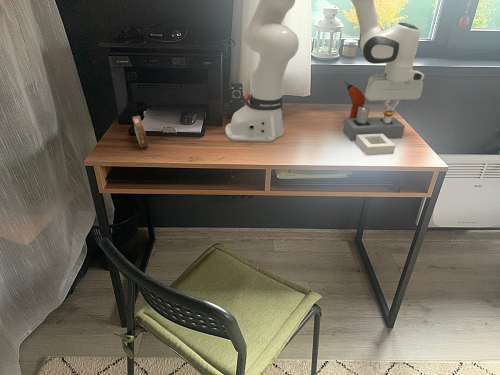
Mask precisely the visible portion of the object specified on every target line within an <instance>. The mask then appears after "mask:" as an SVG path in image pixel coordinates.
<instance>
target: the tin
mask: <svg viewBox="0 0 500 375" xmlns="http://www.w3.org/2000/svg"><path fill="white" fill-rule="evenodd" d="M131 120H132V122H133V126H134V132H135V133H134V134H135V135H136V136H135V137H136V140H137V142H138V144H139V147H140V148H145V147H149V144H148V138H147V135H146V134H147V133H146V130H145V126H144V124H143V122H142V119H141V116H140V115H136V116H132V117H131Z"/></svg>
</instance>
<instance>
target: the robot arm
mask: <svg viewBox="0 0 500 375" xmlns="http://www.w3.org/2000/svg"><path fill="white" fill-rule="evenodd" d="M350 1H351V3H352V5H353V7H354V9H355V13H356V17H357V22H358V26H359V39H358V48H359V50H360V52H361V54H362V56H363V58H364V60H366V61H367V62H368V63H371V64H373V65H375V64H385V63H386V64H385V69H384V73H373V74H372V75H370V76H369V77H368V80H367V86H366V89H365V93H364V97H365V99H366V100H368V101H373V102H374V101H383V103H384V110H385V111H395V108H396V107H397V106H398V104H400V100H401V101H403V100H404V101H405V100H406V101H407V100H418V99H419V98H421V96H422V92H423V87H424V82H423V80H424V79H425V73H422V72H421V71H420V70H417V69H415V68H413V67H414V58H415V56H416V54H417V51H418V48H419V47H418V46H419V41H420V30H419V28H418V27H416V25H413V24H412V23H407V22H397V23H396V24H394V26H392V27H390V28H387V29H385V30H384V29H383V28H382V27H381V25H380V23H379V20H378V16H377V11H376V7H375V0H350ZM295 3H296V0H259V1H258V4H257V6H256V8H255V11H254V13H253V15H252V17H251V19H250V20H249V21H248V22H247V23H246V25H245V26H244V28H243V33H242V34H243V35H242V36H243V40H244V42H245V44H246V45H247V46H248V47H249V48H250V50H252V51H254V52H256V53H258V54H259V62H258V64H257V67H256V69H255V70H254V71H253V73H252V76H251V77H252V78H251V79H252V80H251V85H252V86H251V94H248V93H247V92H246V93H244V94H243V98H244V100H245V102H246V103H245V105H244V106H242V107H241V108H239V109H238V110H236V111H235V112H234V113H233V115H232V117H231V121H230V123H228V124H226V126H225V130H224V133H225V135H226V137H227V138H228V139H229V140H232V141H239V142H240V141H241V142H244V141H245V142H266V143H267V142H269V143H271V142H274V141H275V140H276V139H277V138H280V137H282V136H283V135H284V134H285V129H284V125H283V108H284V95H283V92H284V91H283V89H284V88H283V87H284V77H285V73H286V70H287V67H288V64H289V62H290V61H291V60H292V59H293V58H294V57H295V56H296V54H297V52H298V51H299V45H300V42H299V37H298V35H297V34H296V33H295V31H293V30H292V29H291V28H289V26H287V25H284V24H282V23H283V21H284V19H285V18H286V15H287V13H288V12H289V11H290V10H291V9H292V8H293V7H294V6H295ZM391 101H392V104H389V103H390V102H391Z"/></svg>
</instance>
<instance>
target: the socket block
mask: <svg viewBox="0 0 500 375" xmlns="http://www.w3.org/2000/svg"><path fill="white" fill-rule="evenodd" d="M383 118H384V116H378V117H377V116H376V117H368V121H367V125H366V126H357V125H356V119H357V118H344V120H343V127H342V132H343V133H344V134H345V136H346V137H347V138H348V139H349V140H350V141H351V142H352V141H356V136H357V135H363V134H384V135H385V136H386V137H387V138H388V139H389V140H390V139H391V140H393V139H394V140H395V139H403V135H404V131H405V127H406V125H404V124H403V123H402V122H401V121H399V119H397V118H396V117H395V116H392V118H391V123H390V124H389V125H386V124H384V123H383Z"/></svg>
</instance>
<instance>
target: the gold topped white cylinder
mask: <svg viewBox="0 0 500 375" xmlns="http://www.w3.org/2000/svg"><path fill="white" fill-rule="evenodd" d="M395 112H396V111H395V110H394V111H385V109H383V111H382V114H383V117H384V118H383V123H384V124H386V125H389V124H390V123H391V118H392V117H394V115H395Z"/></svg>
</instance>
